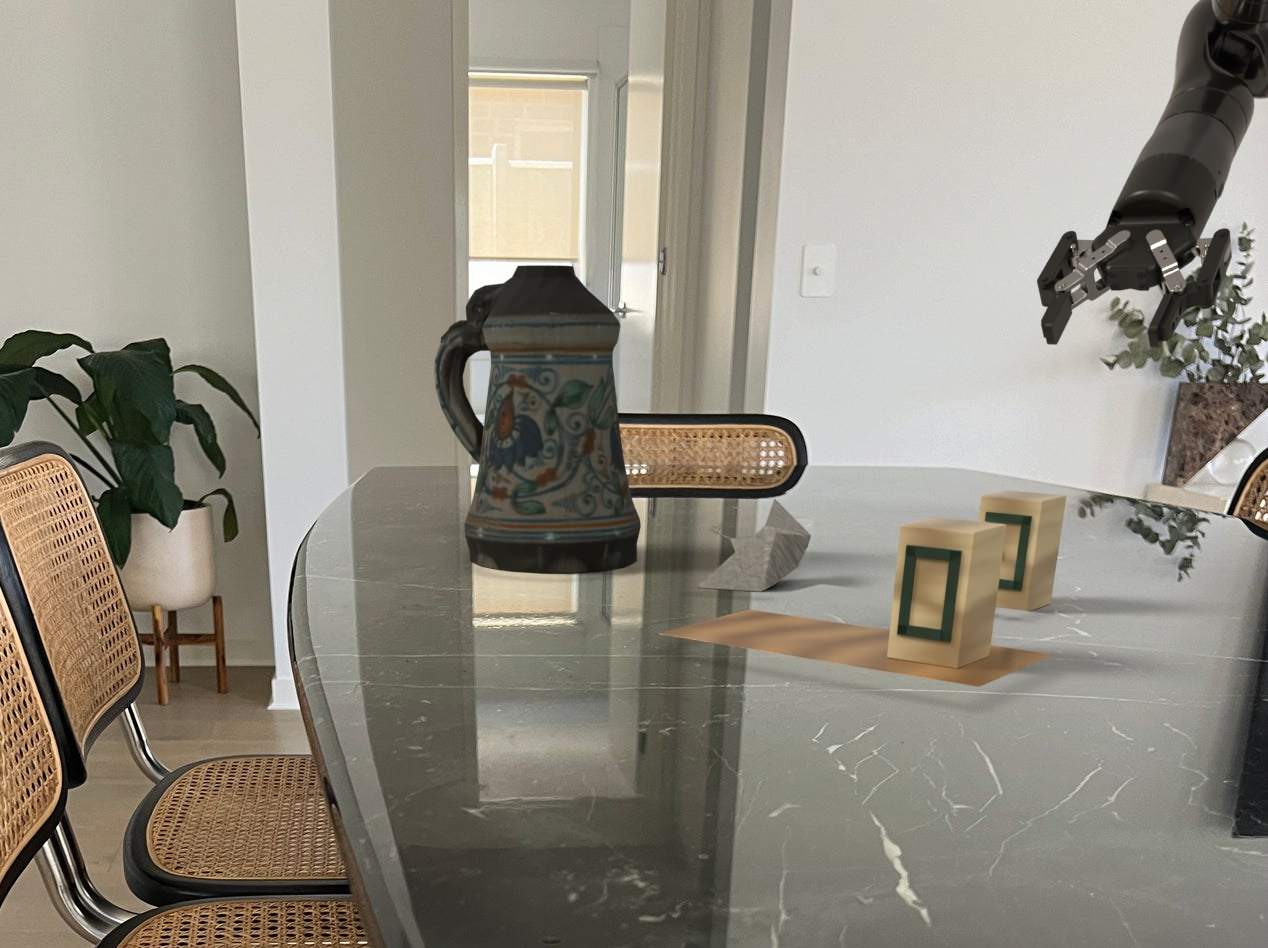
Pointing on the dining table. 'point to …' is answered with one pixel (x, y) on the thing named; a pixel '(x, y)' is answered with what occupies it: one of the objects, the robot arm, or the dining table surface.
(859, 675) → the dining table surface
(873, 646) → the word mat
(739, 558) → the paper boat
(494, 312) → the beer stein
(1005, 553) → the letter G
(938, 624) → the letter O
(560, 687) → the dining table surface
